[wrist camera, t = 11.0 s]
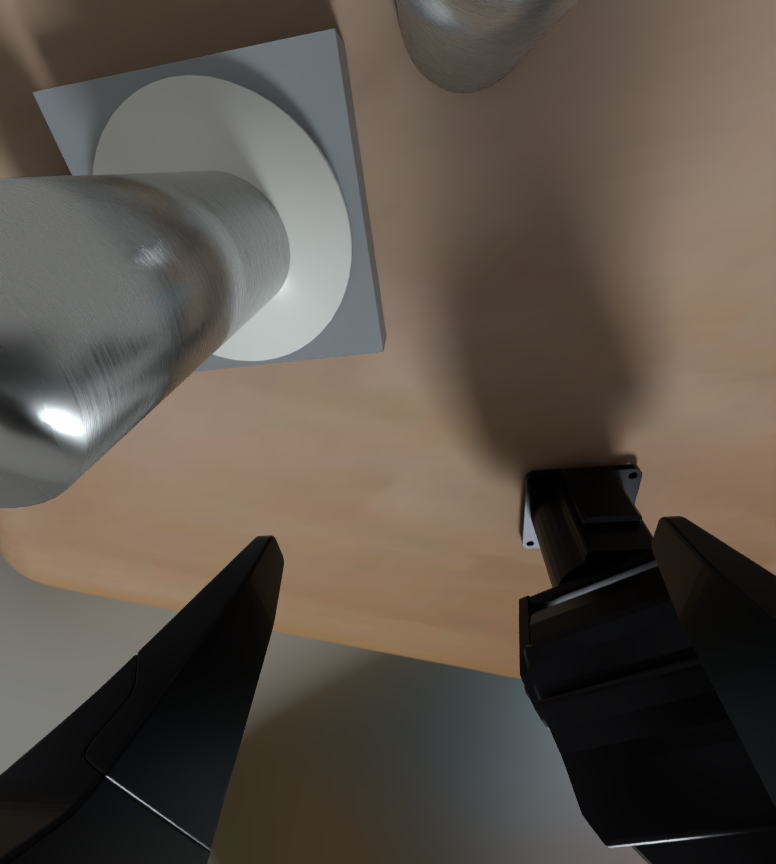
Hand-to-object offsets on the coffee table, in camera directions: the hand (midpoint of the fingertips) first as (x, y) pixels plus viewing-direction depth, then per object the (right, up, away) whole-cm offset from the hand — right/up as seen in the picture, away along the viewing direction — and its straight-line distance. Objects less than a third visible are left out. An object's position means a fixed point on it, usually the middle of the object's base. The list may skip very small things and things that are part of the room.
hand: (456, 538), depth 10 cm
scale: (-9, +11, +9) cm, 17 cm away
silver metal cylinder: (-8, +10, +6) cm, 14 cm away
